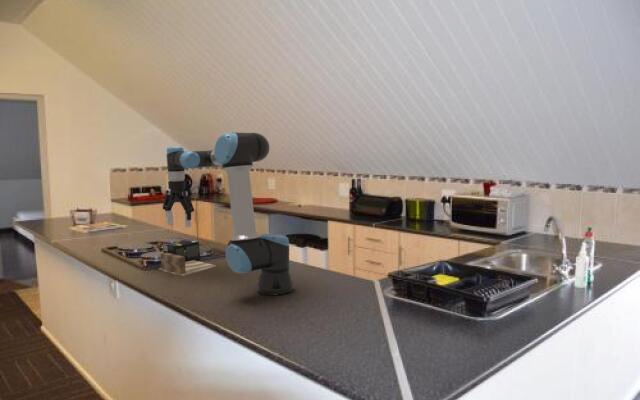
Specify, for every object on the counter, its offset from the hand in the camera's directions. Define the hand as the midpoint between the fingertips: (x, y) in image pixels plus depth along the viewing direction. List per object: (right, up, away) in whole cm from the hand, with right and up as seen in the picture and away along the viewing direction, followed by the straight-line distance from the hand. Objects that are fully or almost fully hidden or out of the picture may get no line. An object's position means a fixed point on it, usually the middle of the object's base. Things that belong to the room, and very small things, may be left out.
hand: (178, 225), depth 229 cm
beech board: (+2, -21, +7) cm, 22 cm away
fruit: (+21, -17, +38) cm, 46 cm away
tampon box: (-9, -15, +14) cm, 22 cm away
